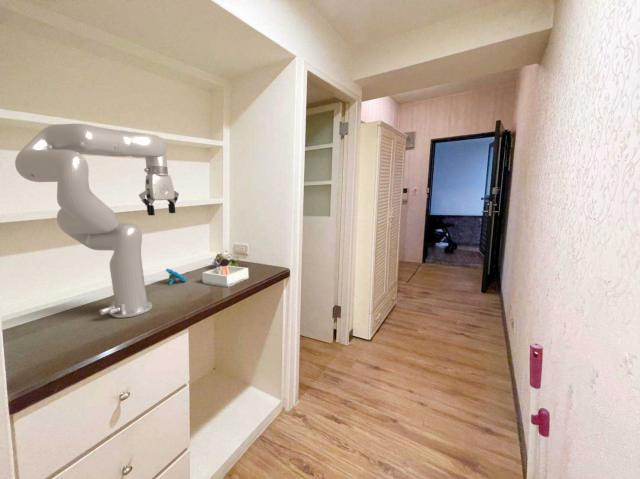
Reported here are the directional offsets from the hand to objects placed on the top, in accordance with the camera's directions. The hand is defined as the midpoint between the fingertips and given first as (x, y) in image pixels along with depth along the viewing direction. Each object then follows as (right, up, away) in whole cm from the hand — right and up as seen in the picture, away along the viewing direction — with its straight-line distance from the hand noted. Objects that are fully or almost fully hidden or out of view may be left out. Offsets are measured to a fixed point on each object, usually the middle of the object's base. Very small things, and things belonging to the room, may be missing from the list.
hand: (162, 214), depth 125 cm
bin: (+22, -30, +15) cm, 40 cm away
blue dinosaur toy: (-1, -31, +14) cm, 34 cm away
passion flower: (+15, -26, +36) cm, 47 cm away
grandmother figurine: (+22, -29, +15) cm, 39 cm away
